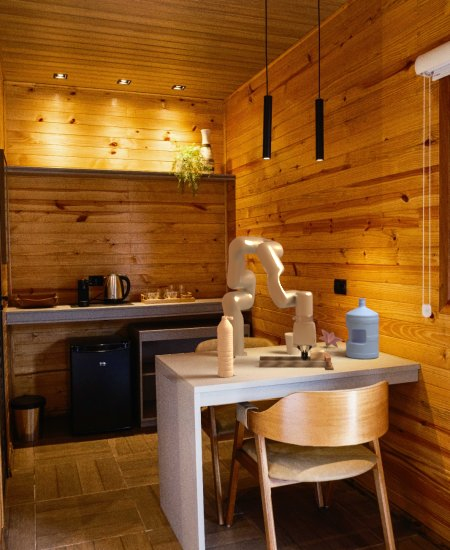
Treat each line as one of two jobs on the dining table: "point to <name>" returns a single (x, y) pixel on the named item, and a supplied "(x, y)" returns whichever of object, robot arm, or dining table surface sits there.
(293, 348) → the dixie cup
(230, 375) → the water bottle
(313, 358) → the birch block
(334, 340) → the lily
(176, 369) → the dining table surface
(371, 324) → the water jug
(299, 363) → the track
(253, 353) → the dining table surface
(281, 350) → the dining table surface
